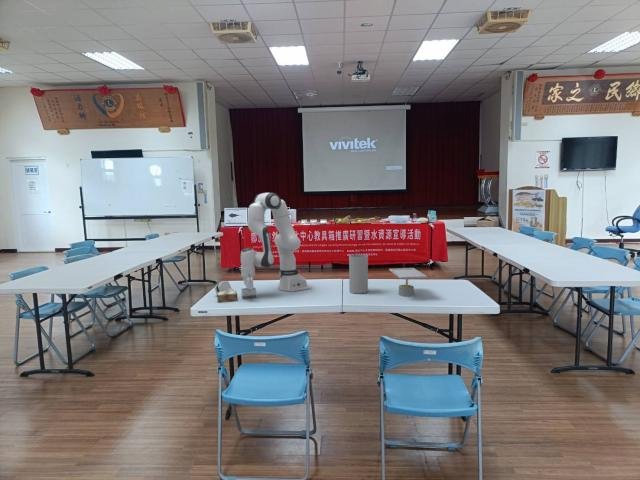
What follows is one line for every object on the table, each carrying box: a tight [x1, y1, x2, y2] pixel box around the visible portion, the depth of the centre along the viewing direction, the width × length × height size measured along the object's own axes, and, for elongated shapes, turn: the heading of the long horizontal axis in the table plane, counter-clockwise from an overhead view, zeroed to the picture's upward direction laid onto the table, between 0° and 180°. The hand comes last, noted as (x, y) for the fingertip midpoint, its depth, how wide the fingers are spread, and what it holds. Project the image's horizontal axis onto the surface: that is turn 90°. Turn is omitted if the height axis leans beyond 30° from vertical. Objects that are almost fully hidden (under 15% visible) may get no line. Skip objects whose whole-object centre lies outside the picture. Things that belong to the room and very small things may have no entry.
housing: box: [240, 287, 257, 300], centre depth 284 cm, size 9×5×6 cm, turn 107°
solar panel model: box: [388, 267, 428, 298], centre depth 285 cm, size 28×17×15 cm, turn 5°
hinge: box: [214, 280, 234, 295], centre depth 294 cm, size 17×5×10 cm, turn 168°
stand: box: [216, 290, 239, 303], centre depth 279 cm, size 12×8×5 cm, turn 107°
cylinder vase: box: [348, 253, 369, 295], centre depth 293 cm, size 12×12×25 cm
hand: (248, 293), depth 284 cm, fingers closed on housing, 5 cm apart
